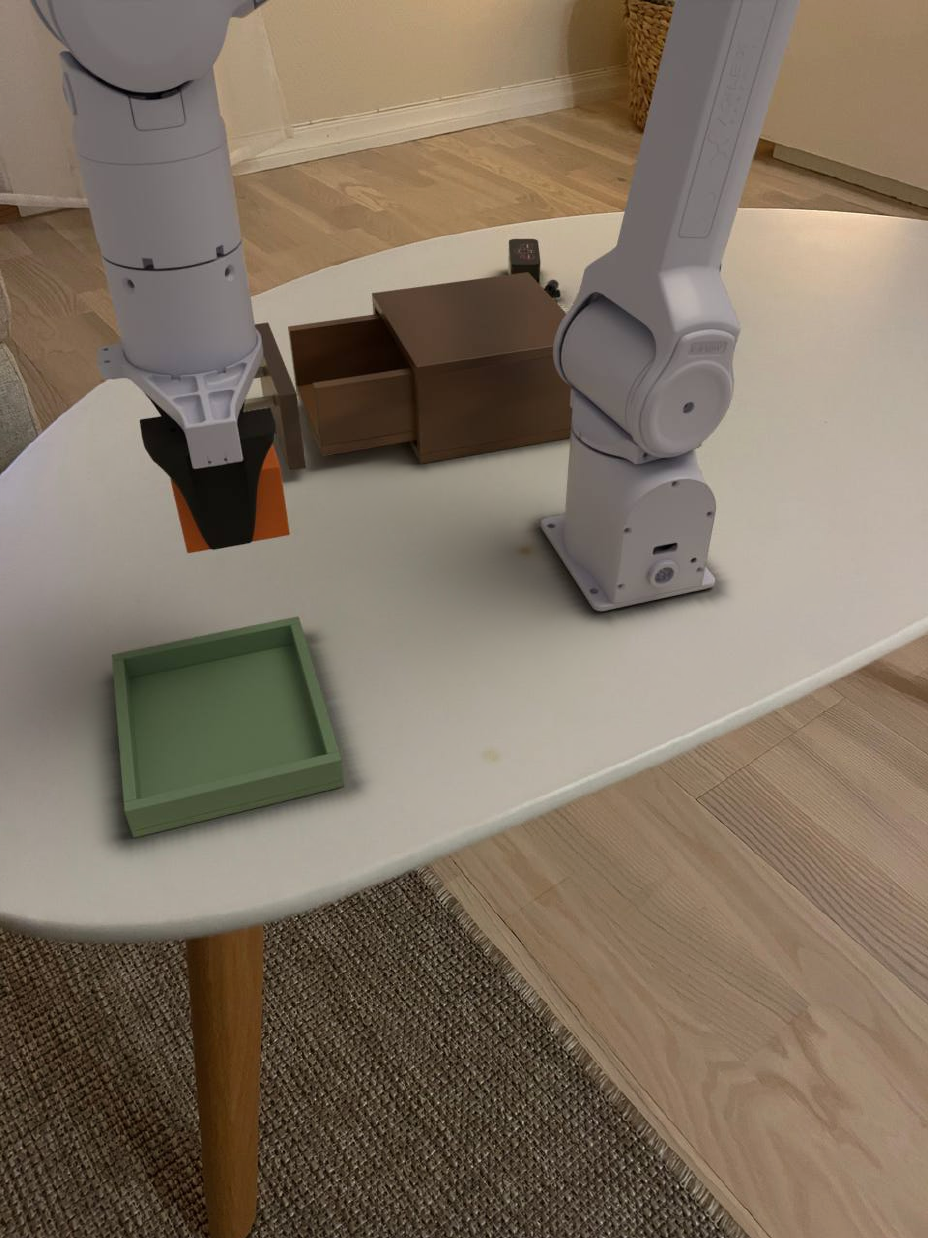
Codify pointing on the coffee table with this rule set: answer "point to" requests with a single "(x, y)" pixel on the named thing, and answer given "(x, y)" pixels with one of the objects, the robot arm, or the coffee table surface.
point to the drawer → (338, 387)
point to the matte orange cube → (268, 508)
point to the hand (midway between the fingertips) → (224, 516)
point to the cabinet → (480, 364)
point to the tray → (221, 726)
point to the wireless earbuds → (528, 262)
